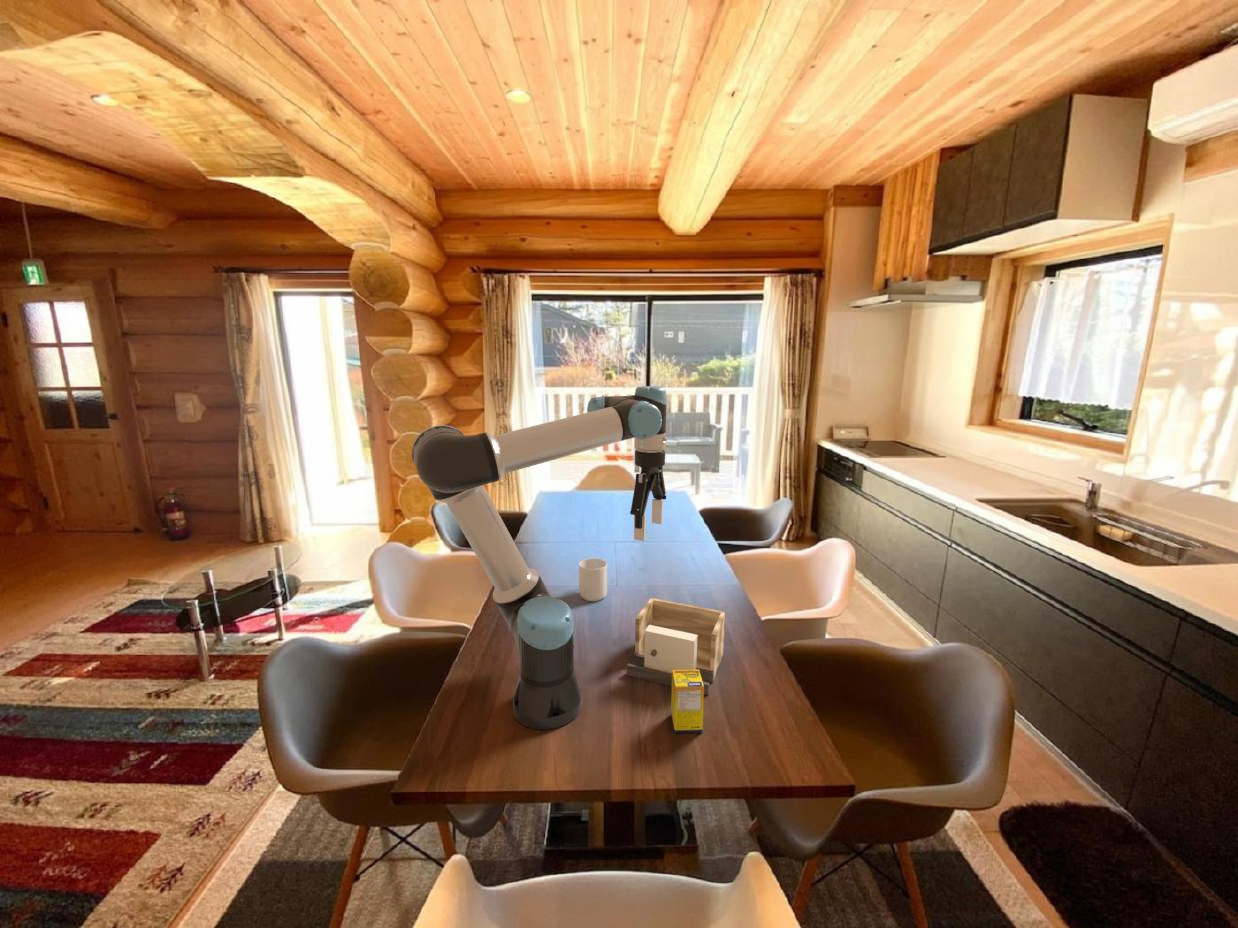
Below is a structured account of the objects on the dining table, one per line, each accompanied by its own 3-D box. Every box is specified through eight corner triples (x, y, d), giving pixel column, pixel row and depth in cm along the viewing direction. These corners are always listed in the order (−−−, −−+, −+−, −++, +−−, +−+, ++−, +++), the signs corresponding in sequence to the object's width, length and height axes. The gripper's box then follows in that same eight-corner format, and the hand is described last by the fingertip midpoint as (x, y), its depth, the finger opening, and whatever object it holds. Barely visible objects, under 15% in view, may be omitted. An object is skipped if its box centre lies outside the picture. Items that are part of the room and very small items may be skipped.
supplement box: (697, 713, 112) (699, 668, 110) (702, 733, 106) (704, 686, 104) (670, 713, 112) (671, 668, 110) (674, 733, 106) (675, 686, 104)
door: (691, 690, 120) (693, 643, 117) (642, 677, 124) (643, 632, 122) (695, 680, 123) (697, 634, 121) (648, 668, 128) (648, 624, 125)
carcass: (708, 695, 118) (710, 647, 115) (626, 674, 125) (626, 629, 123) (723, 653, 134) (725, 611, 132) (650, 638, 141) (651, 597, 139)
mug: (604, 603, 161) (604, 570, 158) (576, 601, 162) (576, 568, 160) (610, 586, 172) (610, 555, 170) (584, 584, 174) (583, 553, 171)
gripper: (647, 460, 115) (646, 550, 119) (678, 442, 137) (676, 518, 142) (616, 457, 118) (616, 545, 122) (651, 440, 140) (650, 515, 145)
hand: (648, 531), depth 132 cm, fingers open, 13 cm apart
